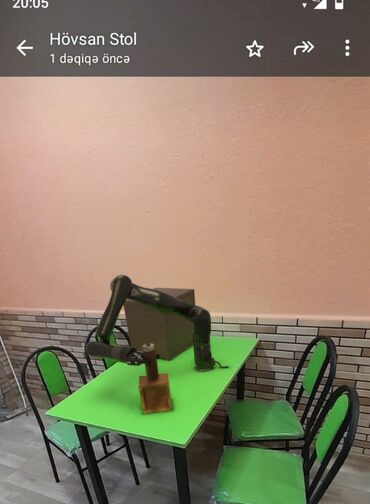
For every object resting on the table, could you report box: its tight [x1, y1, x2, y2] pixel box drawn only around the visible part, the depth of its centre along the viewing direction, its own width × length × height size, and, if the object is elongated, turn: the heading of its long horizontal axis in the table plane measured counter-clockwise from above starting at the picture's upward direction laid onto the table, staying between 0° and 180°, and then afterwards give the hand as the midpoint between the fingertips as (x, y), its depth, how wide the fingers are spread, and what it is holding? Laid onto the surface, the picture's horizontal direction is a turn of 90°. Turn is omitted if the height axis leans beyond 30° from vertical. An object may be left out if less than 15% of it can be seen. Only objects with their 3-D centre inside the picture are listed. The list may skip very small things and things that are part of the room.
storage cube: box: [123, 287, 196, 361], centre depth 210 cm, size 34×29×34 cm
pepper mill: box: [143, 343, 160, 379], centre depth 142 cm, size 5×5×15 cm
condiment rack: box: [138, 372, 173, 414], centre depth 150 cm, size 13×10×14 cm
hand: (155, 359), depth 141 cm, fingers closed on pepper mill, 5 cm apart
